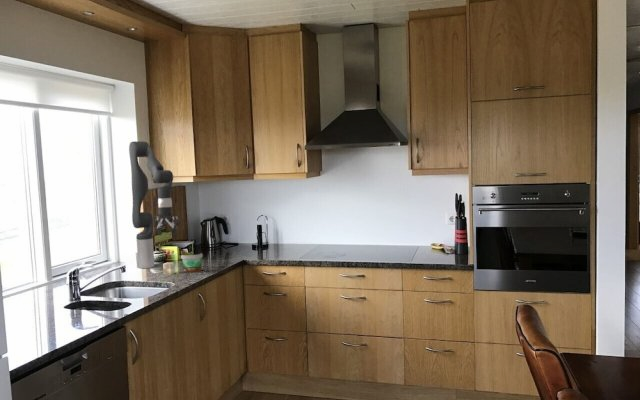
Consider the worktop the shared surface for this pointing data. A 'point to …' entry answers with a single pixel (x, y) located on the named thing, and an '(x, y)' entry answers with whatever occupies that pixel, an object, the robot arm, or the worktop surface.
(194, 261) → the food container
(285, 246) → the worktop surface
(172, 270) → the birch block
